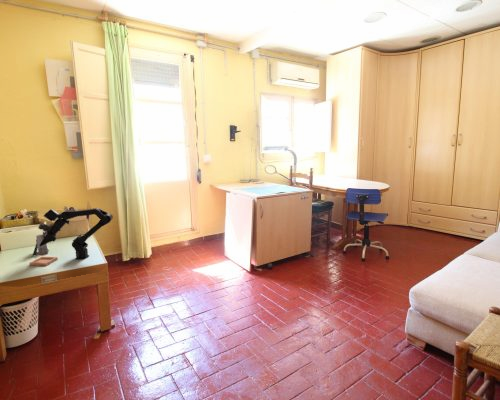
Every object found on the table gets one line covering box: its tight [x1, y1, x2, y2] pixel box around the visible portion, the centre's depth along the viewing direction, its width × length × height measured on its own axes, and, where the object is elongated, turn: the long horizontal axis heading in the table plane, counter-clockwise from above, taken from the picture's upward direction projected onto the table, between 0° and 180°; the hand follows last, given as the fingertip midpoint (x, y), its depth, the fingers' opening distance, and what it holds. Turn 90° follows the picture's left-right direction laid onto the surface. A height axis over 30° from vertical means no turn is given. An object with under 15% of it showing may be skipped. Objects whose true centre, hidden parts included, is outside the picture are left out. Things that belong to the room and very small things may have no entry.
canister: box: [35, 233, 49, 257], centre depth 193 cm, size 5×5×13 cm
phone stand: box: [32, 238, 50, 257], centre depth 211 cm, size 9×6×12 cm, turn 118°
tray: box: [28, 256, 59, 267], centre depth 195 cm, size 11×11×2 cm
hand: (39, 244), depth 192 cm, fingers closed on canister, 5 cm apart
